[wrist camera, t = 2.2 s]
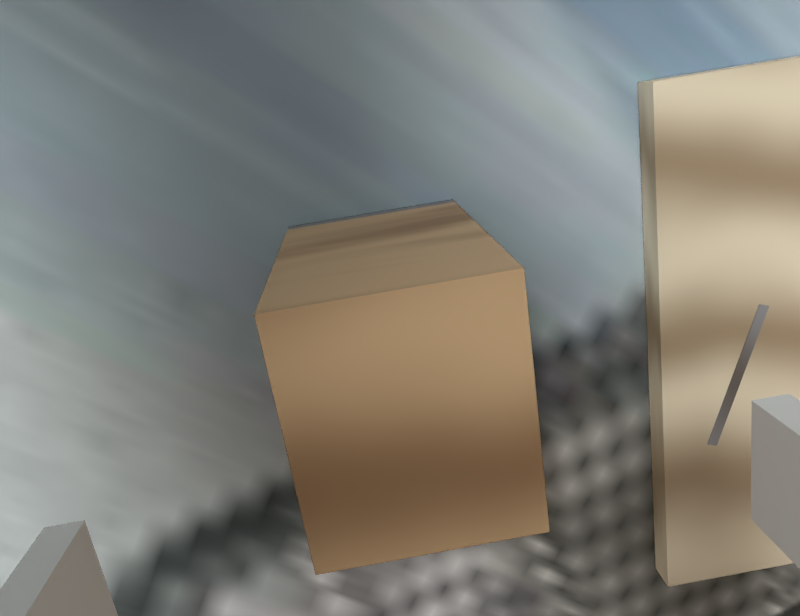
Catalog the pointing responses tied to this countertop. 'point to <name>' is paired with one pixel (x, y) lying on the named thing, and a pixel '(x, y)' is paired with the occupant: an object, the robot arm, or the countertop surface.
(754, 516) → the robot arm
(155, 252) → the countertop surface
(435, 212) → the cardboard box
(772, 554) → the birch board
